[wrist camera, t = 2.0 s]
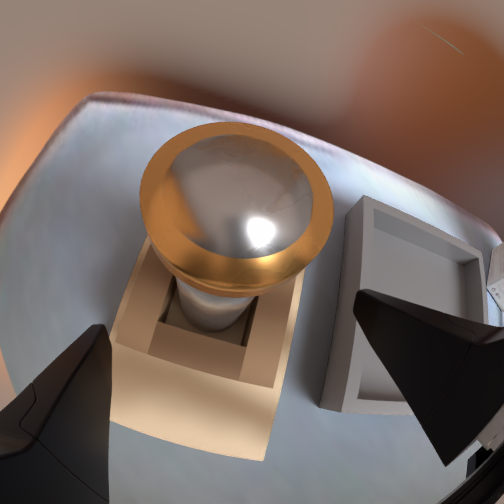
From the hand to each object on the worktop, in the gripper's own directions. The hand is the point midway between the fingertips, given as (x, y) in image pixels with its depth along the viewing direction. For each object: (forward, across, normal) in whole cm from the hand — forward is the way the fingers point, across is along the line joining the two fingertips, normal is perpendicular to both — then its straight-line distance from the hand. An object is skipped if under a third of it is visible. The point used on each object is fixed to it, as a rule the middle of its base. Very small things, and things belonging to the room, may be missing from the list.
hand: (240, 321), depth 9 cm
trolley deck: (+10, 0, +6) cm, 11 cm away
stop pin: (+9, 0, +5) cm, 10 cm away
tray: (+6, -18, +9) cm, 21 cm away
